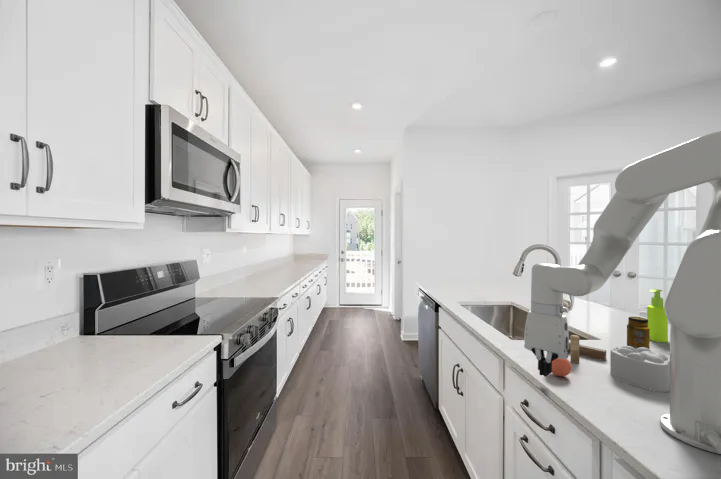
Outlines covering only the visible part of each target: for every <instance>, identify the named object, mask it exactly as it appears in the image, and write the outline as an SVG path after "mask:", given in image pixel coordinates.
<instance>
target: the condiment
mask: <svg viewBox="0 0 721 479" xmlns="http://www.w3.org/2000/svg"><path fill="white" fill-rule="evenodd" d="M627 319H628V321H627V322H628V323H627V324H626V346H631V347H633V348H635V349H636V348H640V347H645V348H648V349H650V343H651V342H650V341H651V340H649V339H650V337H649V334H650V333H649V332H650V329H649V327H648V320H647V318H645V317H641V316H629V317H628V318H627Z"/></svg>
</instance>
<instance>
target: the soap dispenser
mask: <svg viewBox="0 0 721 479" xmlns="http://www.w3.org/2000/svg"><path fill="white" fill-rule="evenodd" d="M648 292H650V293H653V296H651V300H650V301H651V302H650V304H651V305H650V304H649V305H647V306H646V319H647V320H648V327H649V329H650V332H649V333H650V334H649V337H650V339H649V340H650V341H651V342H657V343H667V342H669V341H668V339H669V335H668V333H669V323H668V322H669V320H668V318H667V316H666V314H665V309H664V298H663V297H661V292H663V290H662V289H657V288H653V289H650V290H648Z"/></svg>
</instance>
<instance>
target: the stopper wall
mask: <svg viewBox="0 0 721 479" xmlns="http://www.w3.org/2000/svg"><path fill="white" fill-rule="evenodd" d="M567 353H570V354H571V341H569V349H568V350H567ZM579 356H583V357H587V358H592V359H594V360H595V359H596V360H600V361H606V360H607V350H606V349H603V348H597V347H592V346H587V345H583V344H580V343H579Z"/></svg>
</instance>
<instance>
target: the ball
mask: <svg viewBox="0 0 721 479" xmlns="http://www.w3.org/2000/svg"><path fill="white" fill-rule="evenodd" d="M571 372H572V362H571V361H570V360H569V359H568V358H567V359H558V358H557V359H555V360H553V361H552V372H551V374H553V375H554V376H557V377H566V376H568V375H569V374H570V373H571Z"/></svg>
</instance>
